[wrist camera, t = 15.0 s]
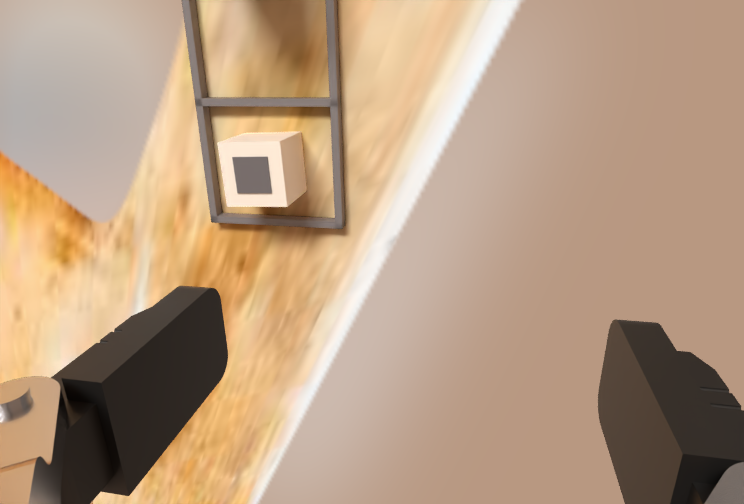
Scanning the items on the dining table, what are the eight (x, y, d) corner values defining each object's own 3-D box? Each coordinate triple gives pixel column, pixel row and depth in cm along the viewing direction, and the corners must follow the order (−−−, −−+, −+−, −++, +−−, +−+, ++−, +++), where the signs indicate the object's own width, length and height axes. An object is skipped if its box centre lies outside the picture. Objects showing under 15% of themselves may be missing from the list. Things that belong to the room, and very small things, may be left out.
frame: (162, -196, 36) (154, -202, 35) (329, -216, 34) (325, -223, 33) (216, 219, 47) (211, 222, 46) (345, 225, 45) (342, 228, 44)
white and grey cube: (245, 132, 44) (216, 142, 39) (301, 131, 43) (279, 141, 38) (252, 190, 46) (226, 206, 41) (307, 190, 45) (286, 207, 40)
